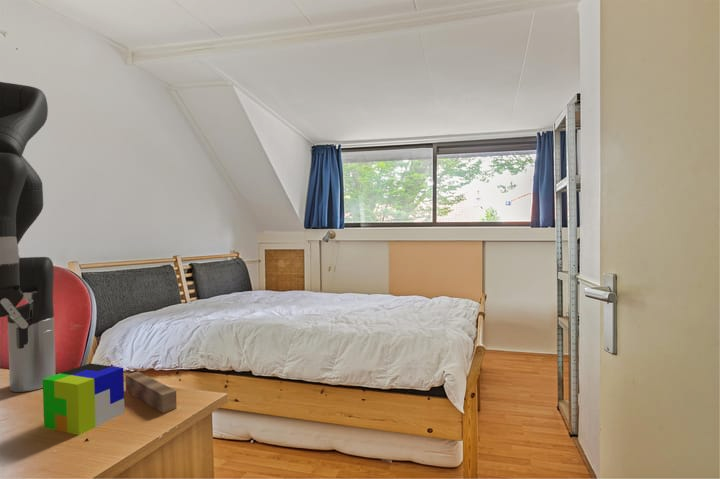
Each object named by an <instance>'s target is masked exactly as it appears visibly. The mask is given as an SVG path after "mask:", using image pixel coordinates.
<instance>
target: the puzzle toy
mask: <svg viewBox="0 0 720 479" xmlns="http://www.w3.org/2000/svg"><path fill="white" fill-rule="evenodd" d="M55 374H56V373H55ZM124 374H125V373H124V367H122V366H113V365H105V364H97V363H87V364H84V365H81V366H78V367H75V368H71V369H69V370H65V371H63V372H60V373H57V374H56V375H53V376H50V377H47V378H44V379H43V388H42V402H43V403H42V404H43V405H42V406H43V427H44V428H45V429H49V430H54V431H60V432H63V433H68V434H71V435H72V434H74V435H77V436H80V435H83V434H85V433H87V432H88V431H90V430H92V429H95V428H96V427H99V426H101V425H102V424H105V423H107V422H109V421H112V420H114V419H115V418H117V417H119V416H122V415H123V414H125V380H124V376H125V375H124Z"/></svg>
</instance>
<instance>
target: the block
mask: <svg viewBox="0 0 720 479" xmlns="http://www.w3.org/2000/svg"><path fill="white" fill-rule="evenodd" d="M124 376H125V392H127V393H129V394H130V395H132V396H133V397H136V398H137V399H139V400H141V401H142V402H143V403H145V404H147V405H149V406H151V408H154V409H155V410H157V411H159V412H160V413H162V414H165V413H167V412H170V411H173V410H175V409H177V407H178V406H177V390H176V389H173V388H171V387H170V386H167V385H166V384H164V383H162V382H159V381H158V380H156V379H154V378H152V377H150V376H148V375H146V374H145V373H142V372H140V371H135V372H131V373H125V375H124Z"/></svg>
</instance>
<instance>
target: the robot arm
mask: <svg viewBox="0 0 720 479" xmlns="http://www.w3.org/2000/svg"><path fill="white" fill-rule="evenodd" d="M48 109H49V107H48V102H47V97H46V94H45V93H44V92H43V90H41V89H39V88H37V87H34V86H29V85H24V84H17V83H10V82H3V81H0V318H4V317H7V336H8V366H9V367H8V368H9V369H8V370H9V390H10V392H15V393H21V392H22V393H23V392H24V393H25V392H29V391H30V392H31V391H36V390H40V389H43V379H44V378H47V377H50V376H53V375H56V346H55V345H56V344H55V343H56V342H55V340H56V339H55V337H56V336H55V317H54V316H55V315H54V313H55V312H54V311H55V310H54V274H55V270H54V263H53V261H52V258H50V257H48V256H35V257H34V256H30V257H20V256H21V255H20V253H19V251H20V250H19V244H20V242H21V240H22V238H23V237H24V235H25V234H26V232H27V231H28V230H29V229H30V227H31V226H32V224H34V222H35V221H36V220H37V219H38V218H39V216H40V214H41V212H42V211H43V208H44V191H43V188H44V187H43V181H42V180H41V177H40V175H39V174H38V173H37V171H36V170H35V168H33V166H32V165H31V164H30V163H29V161H27V159H26V158H25V157H24V156H23V154H24V151H25V149H26V146H27V144H28V142H29V141H30V140H31V139H32V138H33V137H34V136H35V135H36V134H37V133H38V132H39V131H40V130H41V128H43V126H44V125H45V124H46V122H47V120H48V115H49V114H48V113H49V111H48ZM23 299H25V302H26V303H25V304H23V305H19V304H20V303H21V301H22V300H23ZM18 305H19V306H18Z"/></svg>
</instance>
